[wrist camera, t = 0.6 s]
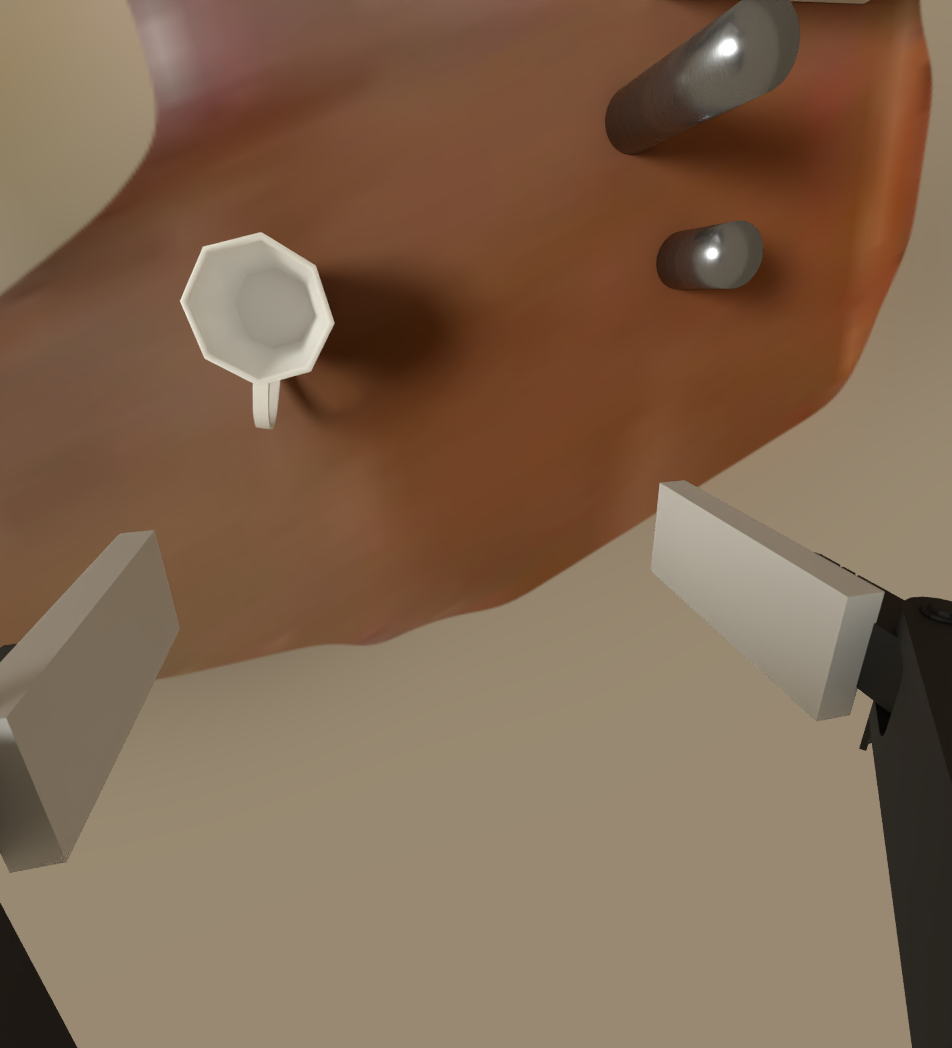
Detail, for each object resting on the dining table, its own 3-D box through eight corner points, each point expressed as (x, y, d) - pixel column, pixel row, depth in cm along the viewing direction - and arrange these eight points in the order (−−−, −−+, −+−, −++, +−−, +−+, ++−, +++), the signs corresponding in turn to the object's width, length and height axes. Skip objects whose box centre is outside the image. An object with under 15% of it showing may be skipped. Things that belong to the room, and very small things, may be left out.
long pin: (606, 84, 34) (728, -13, 23) (661, 84, 35) (806, -10, 24) (604, 155, 36) (718, 94, 25) (657, 154, 36) (792, 94, 25)
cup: (340, 255, 35) (339, 245, 27) (330, 420, 38) (327, 450, 31) (214, 233, 33) (177, 217, 26) (215, 408, 36) (183, 437, 29)
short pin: (658, 232, 38) (710, 221, 32) (707, 229, 39) (767, 219, 33) (654, 290, 39) (704, 290, 34) (702, 287, 40) (758, 287, 35)
